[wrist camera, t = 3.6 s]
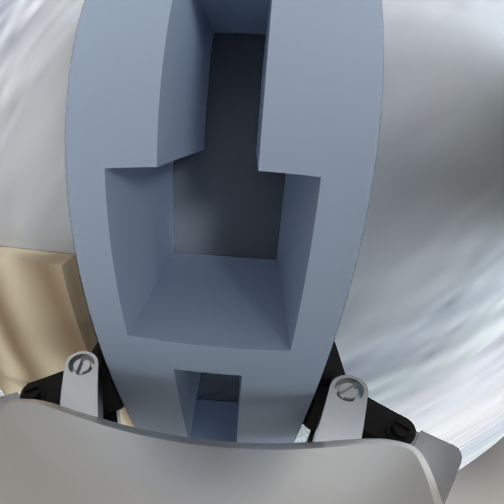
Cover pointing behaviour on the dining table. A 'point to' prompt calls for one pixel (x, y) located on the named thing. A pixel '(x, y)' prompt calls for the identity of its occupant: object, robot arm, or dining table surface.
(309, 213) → the blue slotted peg holder
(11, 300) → the board
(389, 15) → the dining table surface
